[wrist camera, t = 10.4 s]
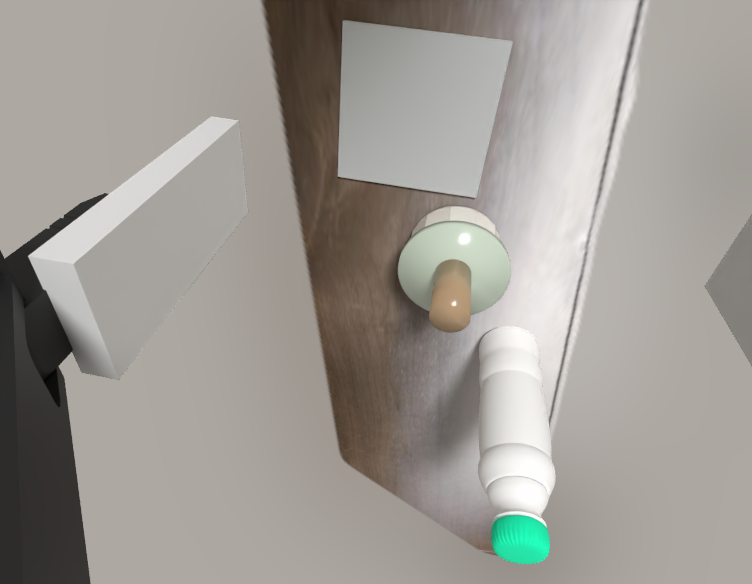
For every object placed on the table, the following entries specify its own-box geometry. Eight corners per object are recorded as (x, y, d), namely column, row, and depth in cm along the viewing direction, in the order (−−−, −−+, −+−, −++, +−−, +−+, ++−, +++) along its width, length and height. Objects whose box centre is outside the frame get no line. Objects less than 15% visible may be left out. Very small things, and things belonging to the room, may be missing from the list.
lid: (405, 212, 45) (394, 256, 40) (523, 230, 44) (529, 278, 39) (394, 301, 52) (383, 349, 46) (495, 318, 51) (497, 370, 45)
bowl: (417, 198, 49) (412, 220, 46) (510, 213, 48) (512, 236, 45) (406, 272, 55) (401, 296, 52) (488, 286, 54) (489, 311, 51)
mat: (343, 19, 40) (342, 20, 40) (512, 40, 39) (512, 42, 39) (338, 175, 49) (337, 176, 49) (475, 196, 48) (476, 197, 47)
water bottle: (472, 328, 58) (468, 533, 39) (532, 318, 56) (559, 533, 37) (486, 367, 62) (488, 573, 43) (543, 360, 60) (572, 575, 41)
